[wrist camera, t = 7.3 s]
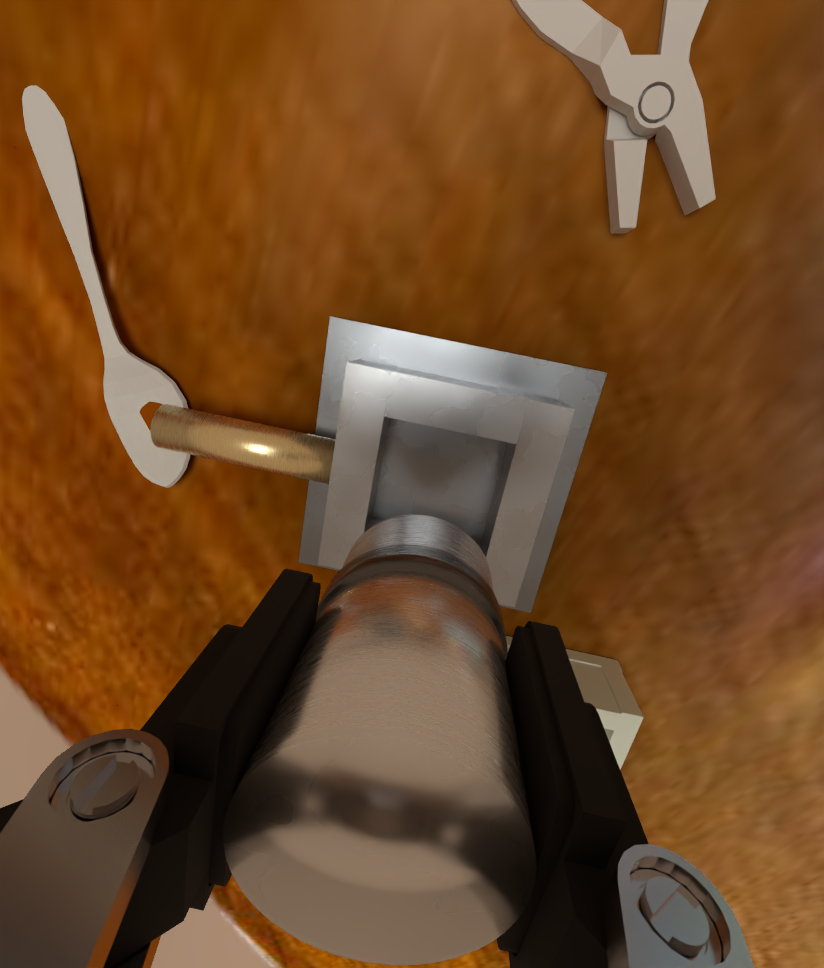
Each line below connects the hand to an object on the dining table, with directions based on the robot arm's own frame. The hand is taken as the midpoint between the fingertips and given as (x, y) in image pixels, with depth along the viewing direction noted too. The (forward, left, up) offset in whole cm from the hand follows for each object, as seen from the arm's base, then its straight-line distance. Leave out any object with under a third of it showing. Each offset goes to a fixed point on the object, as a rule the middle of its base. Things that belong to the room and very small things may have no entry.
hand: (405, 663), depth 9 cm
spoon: (+17, -6, -15) cm, 23 cm away
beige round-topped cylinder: (0, 0, -3) cm, 3 cm away
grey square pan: (+3, 0, -14) cm, 15 cm away
